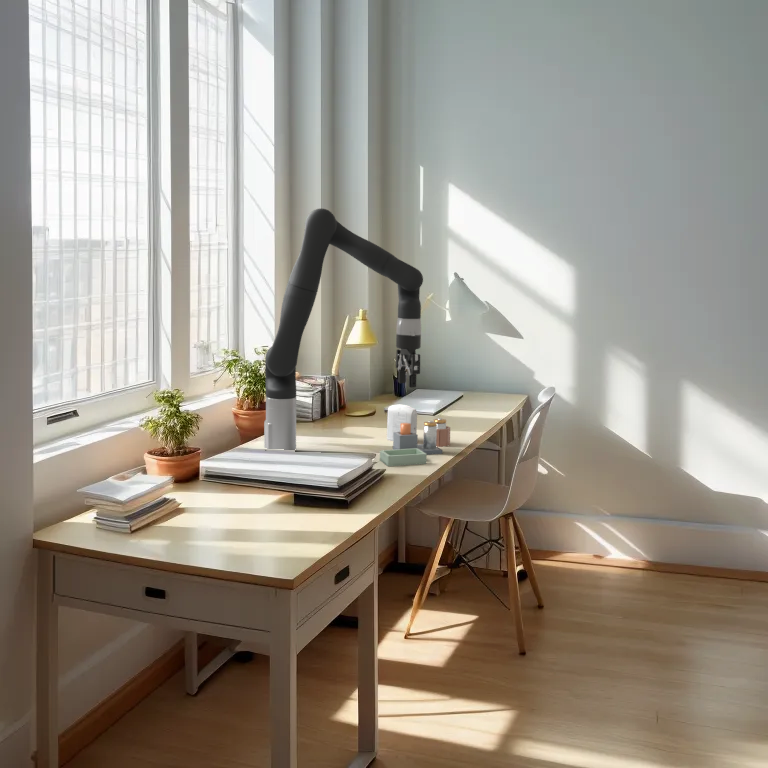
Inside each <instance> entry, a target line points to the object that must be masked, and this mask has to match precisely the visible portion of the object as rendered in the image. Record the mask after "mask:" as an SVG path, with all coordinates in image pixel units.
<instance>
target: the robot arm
mask: <svg viewBox="0 0 768 768" xmlns="http://www.w3.org/2000/svg"><path fill="white" fill-rule="evenodd" d="M304 226H305V227H304V233H303V238H302V243H301V248H300V250H299V255H298V257H297V258H296V260H295V263H294V265H293V267H292V270H291V273H290V275H289V278H288V280H287V284H286V288H285V292H284V294H283V298H282V303H281V309H280V317H279V325H278V330H277V333H276V335H275V338H274V341H273V343H272V346H270V347H269V348H268V349H267V352H266V354H265V359H264V361H265V367H264V370H265V373H264V374H265V420H264V421H263V422H264V423H263V424H264V425H263V428H264V433H263V435H264V436H263V437H264V438H263V439H264V441H263V442H264V444H263V447H264V448H267V449H284V450H295V449H296V450H297V379H296V378H297V377H296V375H297V374H296V373H297V371H296V369H297V368H296V367H297V363H298V357H299V352H300V346H301V341H302V337H303V334H304V330H305V328H306V326H307V324H308V320H309V318H310V317H311V316H310V315H311V313H312V311H313V307H314V304H315V301H316V298H317V295H318V292H319V291H318V290H319V286H320V281H321V278H322V271H323V265H324V261H325V256H326V254H327V252H328V251H327V250H328V248H329V246H330V245H331V246H333V247H336V248H337V249H339V250H341V251H343V252H345V253H346V254H348V255H349V256H351V257H352V258H353V259H355V260H357V261H358V262H360V263H361V264H363V265H364V266H365V267H367V268H369V269H371V270H372V271H374V272H375V273H378V274H379V275H381V276H383V277H386V278H388V279H389V280H391V281H392V282H393V283H395V284H397V294H398V297H397V298H398V305H397V321H396V340H395V347H396V352H395V354H396V357H395V368H396V369H397V372H398V380H397V381H398V383H399V384H406V382H407V371H408V387H409V388H411V389H412V388H416V387H417V376H418V375H419V374H421V354H419V353H418V354H417V353H416V350H419V349H421V343H422V341H421V340H422V339H421V337H422V321H421V318H422V315H421V314H422V303H421V300H420V292H421V291H420V288H421V287H422V285H423V282H424V277H423V274H422V272H421V271H420V270H419V269H418V268H416V267H414V266H413V265H411V264H409V263H407V262H406V261H403V260H401V259H399V258H398V257H396V256H395V255H394V254H392V253H390V252H389V251H387V250H385V249H384V248H382V247H380V246H379V245H377V244H375V243H374V242H371V241H370V240H368V239H365V238H363V237H361V236H359V235H358V234H356V233H354V232H352V231H351V230H350V229H348V228H346V227H345V226H344V225H342V223H340V222H339V221H338V220H337V219H336V217H335V215H334V213H332V211H330V210H329V209H326V208H315V209H313V210H312V211H311V212H310V213H308V215H307V217H306V218H305V222H304Z"/></svg>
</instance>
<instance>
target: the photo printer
mask: <svg viewBox="0 0 768 768" xmlns="http://www.w3.org/2000/svg"><path fill="white" fill-rule="evenodd" d="M386 419H387V421H386V422H387V424H386V440H387V441H390V442H393V434H394V432H400V427H401V423H410V424H411V431H412V432H414V433H415V434H417V433H418V432H417V428H418V427H417V425H418V412H417V409H416V408H414V407H412V406H409V405H407V404H399V403H398V404H393V405H390V406H388V408H387V418H386Z"/></svg>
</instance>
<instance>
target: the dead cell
mask: <svg viewBox="0 0 768 768" xmlns="http://www.w3.org/2000/svg"><path fill="white" fill-rule="evenodd" d="M433 422H436V423H437V429H446V426H447V419H445V418H442V417H439V418H438V417H437V418H434V419H433Z"/></svg>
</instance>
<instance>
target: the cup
mask: <svg viewBox="0 0 768 768" xmlns="http://www.w3.org/2000/svg"><path fill="white" fill-rule="evenodd" d="M448 445H449V446H450V445H451V427H450V426H448V425H446V429H437V438H436V446H437V447H438V448H441V447H443V446H446V447H448Z"/></svg>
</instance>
